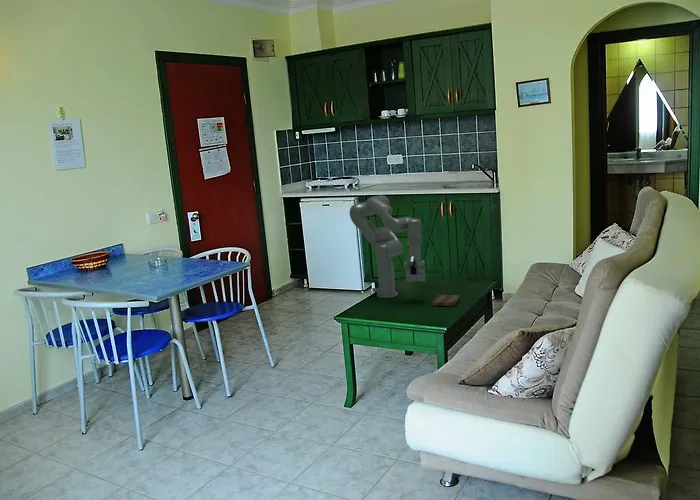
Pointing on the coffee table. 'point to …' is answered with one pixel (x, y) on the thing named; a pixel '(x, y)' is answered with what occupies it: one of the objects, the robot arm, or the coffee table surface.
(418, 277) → the light bulb box
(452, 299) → the walnut stand
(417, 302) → the coffee table surface
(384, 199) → the robot arm
